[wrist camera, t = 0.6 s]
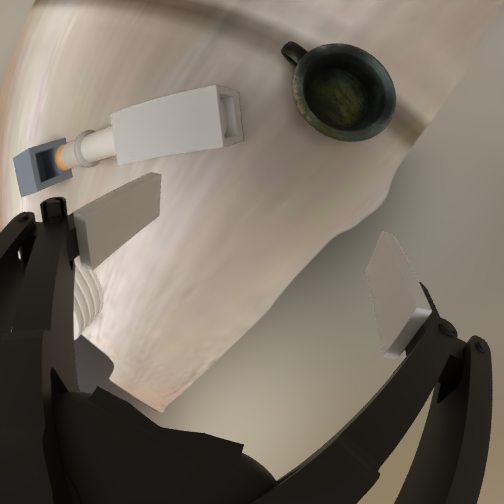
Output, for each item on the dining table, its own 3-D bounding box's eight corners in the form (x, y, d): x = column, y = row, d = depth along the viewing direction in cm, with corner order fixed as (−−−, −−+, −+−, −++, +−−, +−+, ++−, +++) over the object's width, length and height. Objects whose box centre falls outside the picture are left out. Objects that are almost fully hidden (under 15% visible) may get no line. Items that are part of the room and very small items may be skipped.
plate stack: (45, 289, 71) (24, 308, 61) (35, 217, 57) (6, 234, 47) (105, 330, 71) (85, 356, 61) (103, 256, 57) (72, 283, 47)
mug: (338, 150, 37) (348, 163, 26) (264, 83, 34) (245, 70, 24) (387, 104, 31) (415, 100, 21) (313, 36, 29) (313, 6, 19)
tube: (226, 95, 33) (210, 91, 28) (231, 138, 36) (216, 143, 31) (73, 138, 41) (49, 144, 35) (79, 169, 44) (55, 178, 38)
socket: (65, 138, 44) (28, 148, 35) (72, 176, 48) (37, 191, 39) (46, 147, 46) (13, 158, 37) (53, 182, 50) (21, 197, 41)
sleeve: (238, 91, 35) (215, 84, 27) (243, 140, 39) (223, 147, 30) (147, 110, 39) (110, 113, 30) (153, 153, 43) (118, 165, 34)
